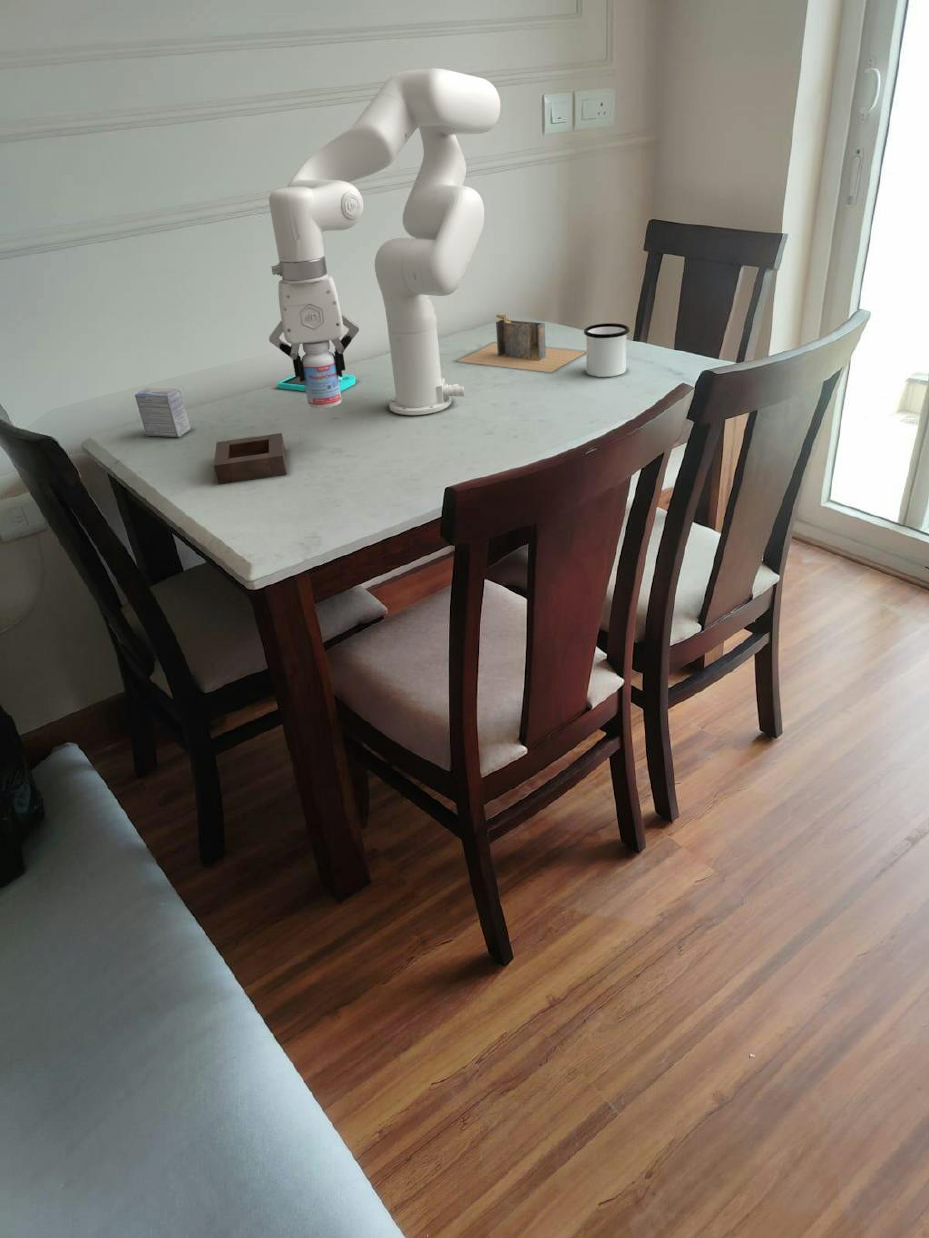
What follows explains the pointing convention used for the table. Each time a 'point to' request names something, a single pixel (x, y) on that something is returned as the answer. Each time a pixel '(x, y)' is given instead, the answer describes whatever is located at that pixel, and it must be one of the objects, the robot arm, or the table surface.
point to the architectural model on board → (521, 348)
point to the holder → (250, 458)
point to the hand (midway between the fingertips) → (321, 376)
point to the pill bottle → (320, 375)
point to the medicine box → (162, 412)
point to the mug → (606, 349)
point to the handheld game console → (295, 383)
